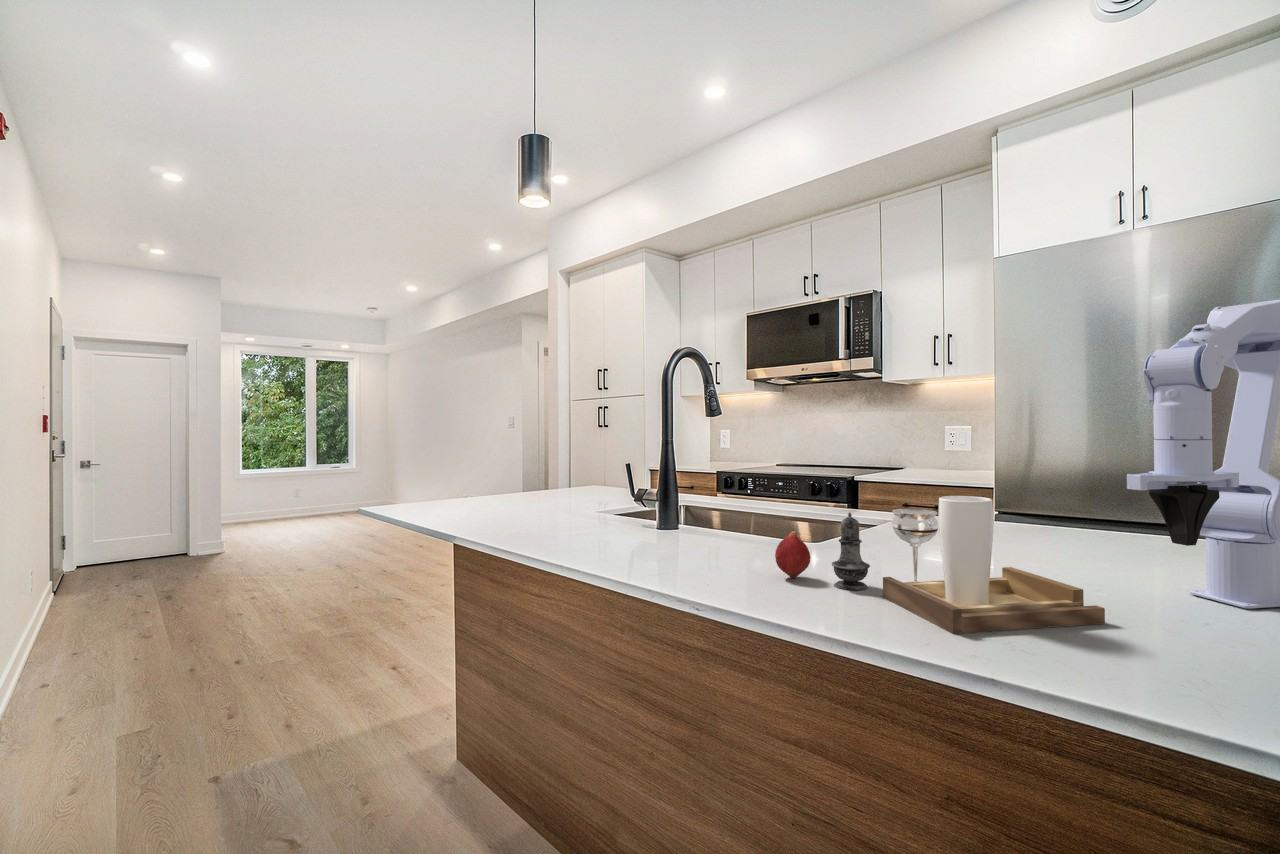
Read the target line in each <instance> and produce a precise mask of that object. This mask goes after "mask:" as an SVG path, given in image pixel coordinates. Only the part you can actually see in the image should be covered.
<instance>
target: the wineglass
mask: <svg viewBox="0 0 1280 854" xmlns="http://www.w3.org/2000/svg"><path fill="white" fill-rule="evenodd" d="M891 512H892V514H893V515H894V516H893V519H892V521H891V525H892V530H893V532H894V534H896V535H897V536H898V538H900V540H902V541H904V542H906V543H908V544H909V546H910V547H911V548H912V560H913V561H912V563H913V564H912V565H913V576H914V577H913V578H914V579H913V580H912V581H911V580H910V582H919V580H918V560H919V559H918V553H919V552H918V551H919V548H920V547H921V545H923V544H924V543H926V542H927V543H928V542H929V541H930V540H932V539H933V538H934V537H935V536H936V534H937V532H938V531H939V521H938V519H936V516H937V515H938V512H937V511H935V510H932V509H925V508H924V509H922V508H896V509H892V511H891ZM908 582H909V581H907V582H904V583H908Z"/></svg>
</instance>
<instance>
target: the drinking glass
mask: <svg viewBox="0 0 1280 854" xmlns="http://www.w3.org/2000/svg"><path fill="white" fill-rule="evenodd" d="M993 504H994V503H993V499H991V498H989V497H982V496H975V495H974V496H970V495H945V496H944V495H943V496H940V497H939V498H938V512H937V515H938V532H939V540H940V550H941V551H940V552H941V559H942V570H943V581H945V599H946V601H948V602H950V603H952V604H955V605H957V606H959V607H961V606H978V605H989V580H990V578H991V577H990V576H991V565H992V553H993V540H994V527H995V526H994V520H995V519H994V505H993Z"/></svg>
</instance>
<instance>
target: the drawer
mask: <svg viewBox="0 0 1280 854" xmlns="http://www.w3.org/2000/svg"><path fill="white" fill-rule="evenodd" d="M1001 571H1002V573H1001V574H1002V575H1001V576H1002V578H1000V577H994V578H995V579H990V580H989V605H978V606H961V607H959V606H957V605H955V604H952V603H950V602H948V601H946V599H945V580H939V581H940V582H927V581H920V582H921V583H905V582H904V583H905V584H907V585H909V586H912V587H914V588H916V589H918V590H920V591H923V592H925V593H927V594H929V595H931V596H934V597H936V598H938V599H940V600H943V601H945V602H947V603H949V604H951V605H954V606H956V607H958V608H960V609H961V610H962V614H966V613H982V612H998V611H1014V610H1030V609H1046V608H1062V607H1078V606H1085V605H1084V604H1085V603H1084V588H1080V587H1077V586H1073V585H1070V584H1067V583H1065V582H1064V583H1063V582H1061V581H1057V580H1054V579H1051V578H1048V577H1045V576H1041V575H1038V574H1034V573H1031V572H1028V571H1025V570H1022V569H1019V568H1015V567H1013V566H1008V567H1004V566H1003V567H1002V570H1001Z"/></svg>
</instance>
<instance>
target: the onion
mask: <svg viewBox="0 0 1280 854" xmlns="http://www.w3.org/2000/svg"><path fill="white" fill-rule="evenodd" d="M809 550H810V549H809V548H808V546H807V544H806V543H805V542H804V541H803V540H801V538H799V537H798V536H797V532H796V531H795V530H794V531H791V532H790V533H789V534H788V535H787V536H786V537H784V538H783V539H782V540H781V541H780V542H779V543H778V545H777V546H776V548H775V554H774V557H775V564H776V566H777V568H778V569H780V570H781V571H782V572H783V573H784V574H786V575H787V576H788V577H789V578H792V579H796V578H797V577H799V576H800V575H801V574H802V573H803V572H805V571H806V570H807V568H809V566H810V563H811V553H810V551H809Z"/></svg>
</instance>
